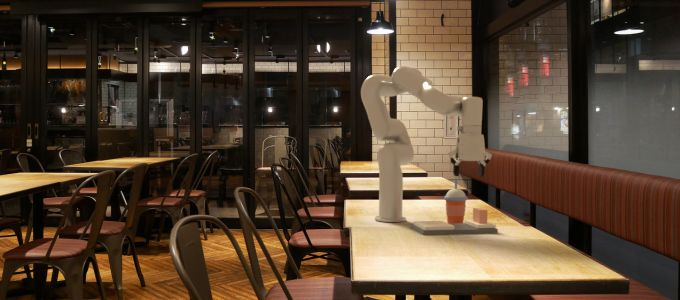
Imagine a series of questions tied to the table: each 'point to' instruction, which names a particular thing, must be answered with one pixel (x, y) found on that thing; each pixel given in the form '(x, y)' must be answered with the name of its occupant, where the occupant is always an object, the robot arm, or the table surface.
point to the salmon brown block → (480, 219)
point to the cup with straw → (455, 205)
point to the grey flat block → (448, 228)
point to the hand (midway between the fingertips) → (468, 176)
